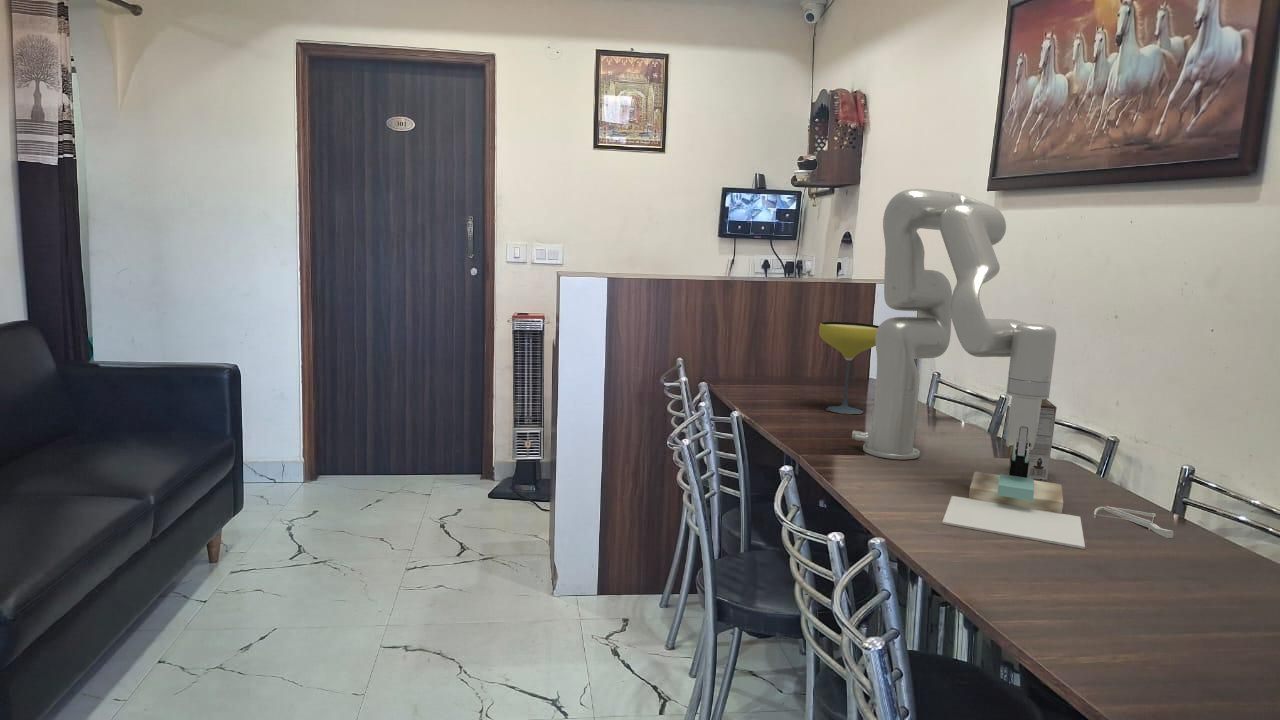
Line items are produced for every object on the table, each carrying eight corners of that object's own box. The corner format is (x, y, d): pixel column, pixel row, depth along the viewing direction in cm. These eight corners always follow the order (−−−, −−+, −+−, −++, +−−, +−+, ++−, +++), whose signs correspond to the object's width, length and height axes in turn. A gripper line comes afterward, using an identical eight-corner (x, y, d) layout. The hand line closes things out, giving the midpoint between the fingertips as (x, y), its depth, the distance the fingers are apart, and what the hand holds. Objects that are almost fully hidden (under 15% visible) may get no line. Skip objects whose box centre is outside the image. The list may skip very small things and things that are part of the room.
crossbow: (1073, 514, 161) (1074, 504, 160) (1132, 514, 163) (1133, 503, 163) (1137, 539, 145) (1138, 527, 145) (1201, 538, 147) (1202, 527, 147)
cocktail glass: (837, 418, 234) (845, 328, 230) (800, 405, 250) (806, 321, 247) (890, 416, 241) (898, 329, 237) (850, 404, 257) (857, 321, 254)
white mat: (942, 523, 147) (942, 521, 147) (951, 497, 163) (951, 495, 163) (1084, 549, 138) (1085, 546, 138) (1079, 518, 154) (1080, 516, 154)
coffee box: (1007, 466, 190) (1015, 396, 188) (1038, 469, 189) (1046, 398, 186) (1016, 477, 181) (1025, 403, 179) (1049, 480, 180) (1058, 406, 177)
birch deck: (968, 500, 162) (969, 487, 162) (973, 483, 175) (974, 471, 174) (1061, 515, 155) (1063, 502, 155) (1059, 496, 168) (1061, 484, 168)
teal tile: (997, 495, 157) (998, 484, 157) (998, 483, 166) (999, 473, 165) (1032, 501, 155) (1034, 490, 155) (1032, 488, 163) (1033, 478, 163)
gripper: (1008, 381, 171) (998, 469, 174) (1006, 391, 158) (995, 487, 160) (1049, 385, 168) (1038, 475, 171) (1050, 396, 155) (1039, 493, 157)
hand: (1017, 481), depth 166 cm, fingers closed
